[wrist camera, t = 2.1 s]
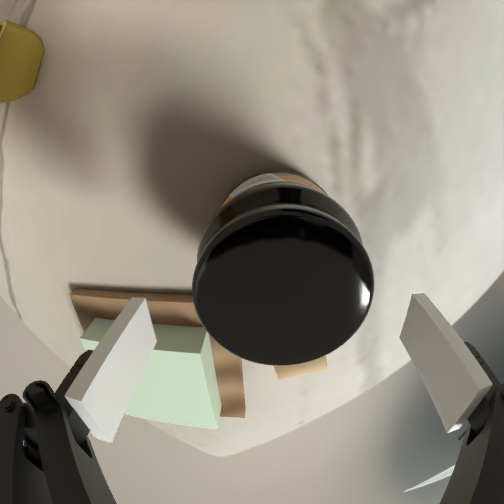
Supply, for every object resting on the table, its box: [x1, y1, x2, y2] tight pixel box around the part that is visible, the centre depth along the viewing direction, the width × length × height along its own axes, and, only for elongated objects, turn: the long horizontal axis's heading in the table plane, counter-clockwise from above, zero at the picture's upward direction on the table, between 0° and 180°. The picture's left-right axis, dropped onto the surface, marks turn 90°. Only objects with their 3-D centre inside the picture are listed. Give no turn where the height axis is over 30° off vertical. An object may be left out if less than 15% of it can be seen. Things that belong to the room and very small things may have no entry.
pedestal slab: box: [80, 318, 221, 429], centre depth 29 cm, size 14×14×4 cm
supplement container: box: [192, 170, 374, 366], centre depth 19 cm, size 10×11×12 cm
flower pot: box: [0, 20, 44, 103], centre depth 14 cm, size 9×9×9 cm
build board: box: [70, 288, 246, 418], centre depth 32 cm, size 20×20×2 cm
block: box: [273, 356, 328, 379], centre depth 27 cm, size 5×5×5 cm
